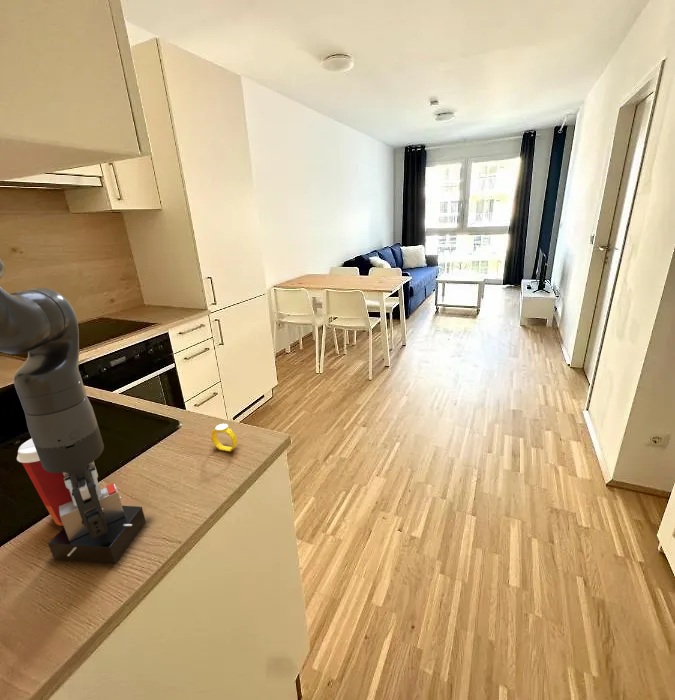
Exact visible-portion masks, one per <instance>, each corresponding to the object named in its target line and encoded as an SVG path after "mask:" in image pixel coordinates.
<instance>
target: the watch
mask: <svg viewBox="0 0 675 700" xmlns="http://www.w3.org/2000/svg"><path fill="white" fill-rule="evenodd" d="M214 427H215V428H214V429H213V430H212V432H211V434H210V436H211V441H212V443H213V445H214V446H215V448H217V449H218V450H219V451H225V452H232V451H233V450H234V449H235V448H236V447H237V445H238V439H237V436H236V434H235V432H234V431H233V430H232V429H231V428H229V424H228V423H220V424H218V425H216V426H214ZM217 433H219V434H221V433H225V434H226V435H227V436H228V437H229V438H230V440H231V442H232V445H231V446H228V445H223V444H222V443H221V442H220V440H219V438H218V435H217Z"/></svg>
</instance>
